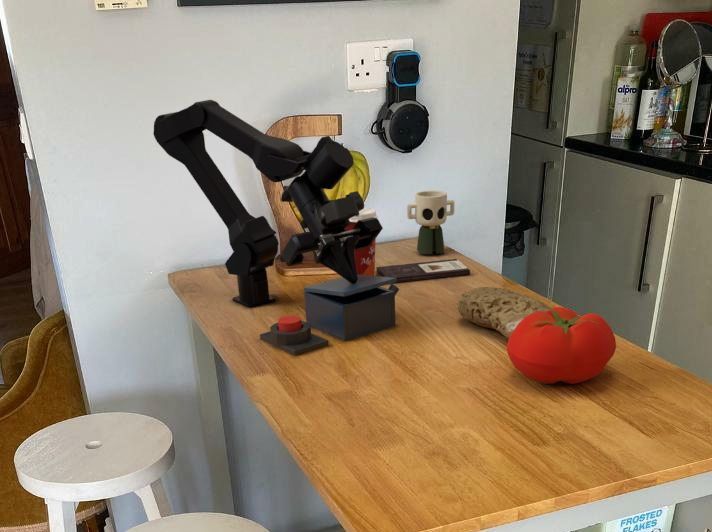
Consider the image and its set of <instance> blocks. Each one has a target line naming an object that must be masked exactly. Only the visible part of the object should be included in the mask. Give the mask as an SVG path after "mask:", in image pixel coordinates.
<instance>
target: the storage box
mask: <svg viewBox="0 0 712 532" xmlns="http://www.w3.org/2000/svg"><path fill="white" fill-rule="evenodd" d="M303 294H304V295H303V296H304V298H303V299H304V312H305V322H307V323H309V324H310V327H311V329H314V330H315V331H316V330H317V331H319V332H321V333H324V334H326V335H328V336H330V337H333V338H335V339H337V340H340V341H343V342H347V341H350V340H354V339H358V338H360V337H363V336H367V335H369V334H373V333H376V332H379V331H382V330H385V329H389V328H392V327H395V326H396V295H395V292H394V291H391V290H388V288H385V287H383V286H381V287H377V288H373V289H370V290H366V291H363V292H359V293H356V294H352V295H348V296H345V297H344V296H337V295H329V294H321V293H313V292H306V291H303Z"/></svg>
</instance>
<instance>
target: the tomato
mask: <svg viewBox="0 0 712 532" xmlns="http://www.w3.org/2000/svg"><path fill="white" fill-rule="evenodd" d="M616 349H617V342H616V336H615V334H614V332H613V329H612V327H611V326H610V325H609V324H608V322H607V321H606V320H605V319H604V318H603V317H602V316H601V315H599V314H596V313H593V312H590V313H586V314H585V313H584V315H581V316H580V315H579V314H577V312H575V311H574V310H573V309H570V308H566V307H563V306H553V307H550V309H549V310H547V311H546V312H543V311H540V312H533V313H531V314H529V315H528V316H526V317H525V318H524V319H523V320H522V321H521V322H520V323H519V324H518V325H517V326H516V328H515V329H514V331H513V332H512V334H511V336H510V337H509V340H508V339H507V344H506V351H507V356H508V358H509V360H510V362H511V364H512V365H513V366H514V368H515V369H516V370H517V371H519V372H520V373H521V374H523V375H524V376H525V377H526V378H529V379H531V380H533V381H535V382H538V383H541V384H543V385H544V384H545V385H547V384H549V385H550V384H551V385H552V384H555V383H557V382H560V381H561V382H563V383H565V384H571V385H572V384H580V383H582V382H585V381H587V380H590V379H593V378H595V377H596V376H598V375H599V374H601V372H602V371H603V370H604V369H605V368H606V366H607V365H608V363H609V362H610V360H611V359H612V358H613V356H614V355H615V353H616Z"/></svg>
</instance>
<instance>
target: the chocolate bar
mask: <svg viewBox="0 0 712 532" xmlns="http://www.w3.org/2000/svg"><path fill="white" fill-rule="evenodd" d="M375 268H376V273H377V274H378V276H380V277H391V278H397V282H396V283H402V282H403V283H404V282H411V281H420V280H421V281H423V280H430V279H441V278H449V277H457V276H459V277H460V276H467V275H471V270H470V269H469V267H467V266H466V265H464V264H463V263H462V262H461V261H460V260H458V259H457V258H450V259H441V260H432V261H423V262H422V261H421V262H413V263H404V264H403V263H402V264H392V265H383V266H375Z"/></svg>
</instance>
